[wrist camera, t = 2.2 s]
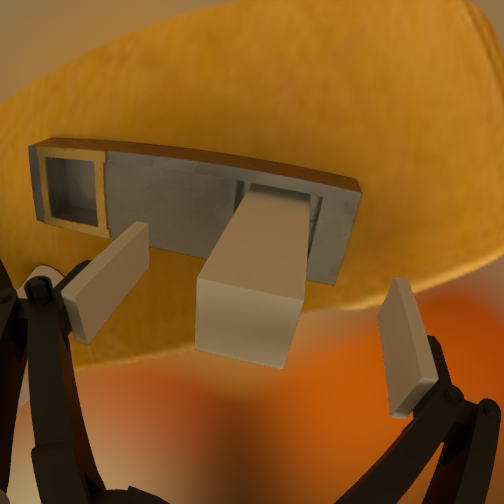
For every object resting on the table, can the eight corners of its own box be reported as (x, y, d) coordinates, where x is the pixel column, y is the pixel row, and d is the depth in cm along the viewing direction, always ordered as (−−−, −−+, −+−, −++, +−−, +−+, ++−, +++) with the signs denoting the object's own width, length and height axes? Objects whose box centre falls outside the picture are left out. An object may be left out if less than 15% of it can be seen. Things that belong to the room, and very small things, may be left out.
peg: (246, 232, 24) (194, 349, 14) (253, 181, 22) (197, 277, 12) (299, 243, 24) (283, 369, 14) (310, 192, 22) (304, 300, 12)
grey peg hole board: (56, 207, 27) (35, 221, 24) (50, 137, 24) (26, 146, 21) (332, 263, 25) (334, 287, 22) (356, 179, 21) (362, 194, 19)
